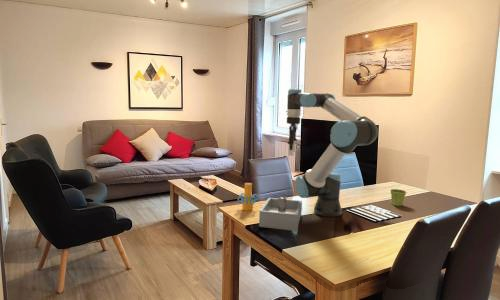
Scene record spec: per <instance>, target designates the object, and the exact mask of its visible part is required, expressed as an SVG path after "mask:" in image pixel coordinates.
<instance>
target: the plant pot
mask: <svg viewBox="0 0 500 300" xmlns="http://www.w3.org/2000/svg"><path fill="white" fill-rule="evenodd" d="M389 192H390V195H391V196H390V197H391V205H393V206H395V207H402V206H403V204H404V199H405V196H406V194H407V193H408V192H407V190H404V189H399V188H398V189H397V188H392V189H390V190H389Z"/></svg>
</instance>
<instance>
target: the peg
mask: <svg viewBox="0 0 500 300" xmlns="http://www.w3.org/2000/svg"><path fill="white" fill-rule="evenodd" d="M286 199H287V197H284V196H279V197H278V212H281V213H286Z"/></svg>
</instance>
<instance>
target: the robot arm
mask: <svg viewBox="0 0 500 300" xmlns="http://www.w3.org/2000/svg"><path fill="white" fill-rule="evenodd" d="M286 108H287V109H286V111H285V112H286V116H287V117H286V124H289V128H288V132H289V137H288V142H287V144H288V154H287V155H288V156H292V157H293V156H294V153H295V152H296V142H297V136H296V135H297V125H300V123H301V111H302V110H301V109H302V108H321V109H323V110H324V111H326V112H328V114H330V115H332V116H333V117H335V118H336V119H337V120H339V121H338V122H335V123H334V124H333V126H332V127H331V129H330V134H329V136H330V137H329V138H330V143H329V145H328V146H327V148H326V149H325V151H324V152H323V153H322V155H321V156H320V157H319V159H318V160H317V161H316V163H315V164H314V165H313V167H312V168H310V169H308V170H306V172H305V173H304V174H303V175H299V176H297V177H296V178H295V181H294V188H295V193H296V194H297V195H298V197H300V198H302V199H308V198H315V197H317V198H316V202H315V204H314V207H313V212H314V213H315V214H317V215H318V216H322V217H328V218H332V217H339V216H341V215H342V207H341V203H340V202H341V201H340V191H341V175H340V174H339V173H336V172H334V169H335V168H336V167H337V166H338V164H339V163H340V162H341V161H342V160H343V158H344V157H345V156H346V154H351V153H352V152H353V151H354V150H355V149H356V147H357V146H369V145H371V144H372V143H373V142H375V141H376V139H377V138H378V134H379V129H378V126H377V125H376V123H375V122H374V121H373V120H371V119H370V118H368V117H367V116H364V115H363V116H362V115H360V114H358V113H357V112H355V111H354V110H351V108H349V107H347V106H346V105H345V104H342V102H340V101H338V100H336V97H335V95H334V94H332V93H325V92H324V93H320V92H319V93H315V92H312V93H311V92H302V89H298V88H296V89H295V88H290V89H288V91H287V107H286Z"/></svg>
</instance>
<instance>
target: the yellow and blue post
mask: <svg viewBox="0 0 500 300" xmlns="http://www.w3.org/2000/svg"><path fill="white" fill-rule="evenodd" d="M252 188H253V183H252V182H245V183H244V192H242V193H240V195H239V196H238V197H237V202H238V203H240V204H241V203H242V204H241V205H242V206H241V207H242V211H244V212H251V211H253V209H254V204H256V203H257V201H258V199H259V195H258V194H256V193H254V194H252V192H253V191H252V190H253V189H252Z"/></svg>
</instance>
